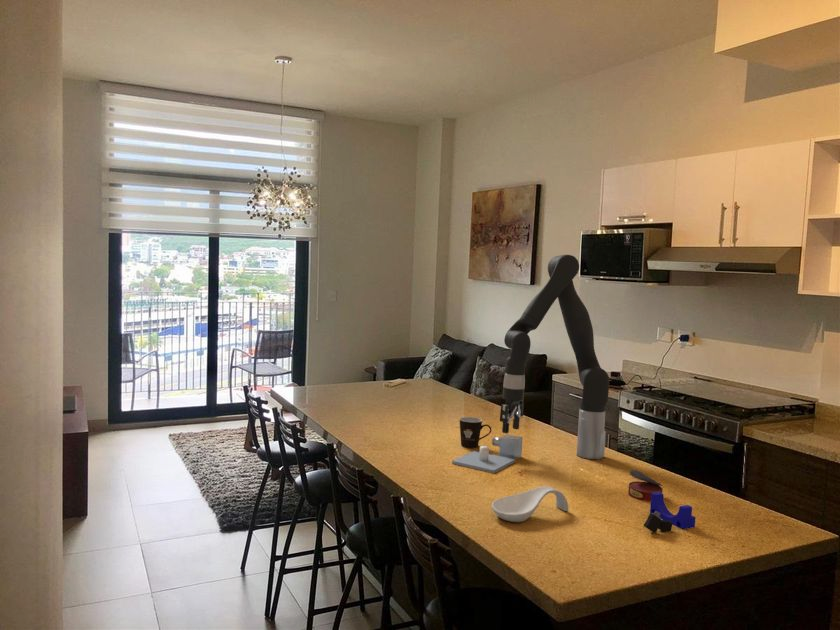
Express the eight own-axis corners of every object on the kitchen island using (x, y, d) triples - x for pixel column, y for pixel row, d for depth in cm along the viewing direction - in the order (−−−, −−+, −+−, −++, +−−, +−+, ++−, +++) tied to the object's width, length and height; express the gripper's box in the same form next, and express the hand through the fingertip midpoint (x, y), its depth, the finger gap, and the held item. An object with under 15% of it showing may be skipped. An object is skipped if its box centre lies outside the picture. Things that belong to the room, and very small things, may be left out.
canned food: (627, 506, 208) (621, 474, 212) (659, 505, 207) (653, 472, 211) (635, 501, 197) (629, 467, 201) (670, 499, 197) (663, 465, 201)
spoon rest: (508, 530, 174) (510, 503, 173) (482, 514, 184) (483, 489, 183) (576, 516, 185) (578, 491, 185) (548, 502, 196) (550, 478, 195)
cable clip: (694, 527, 181) (696, 506, 180) (682, 529, 179) (683, 508, 178) (662, 512, 192) (663, 491, 191) (649, 513, 190) (651, 493, 189)
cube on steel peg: (521, 456, 241) (522, 437, 240) (514, 460, 236) (515, 440, 235) (497, 451, 246) (498, 432, 246) (489, 455, 241) (490, 435, 240)
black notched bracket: (660, 537, 178) (669, 520, 179) (665, 540, 177) (675, 523, 177) (641, 524, 176) (651, 507, 176) (646, 527, 174) (656, 510, 174)
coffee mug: (453, 445, 252) (454, 419, 252) (467, 441, 259) (469, 415, 258) (477, 451, 244) (479, 425, 244) (491, 447, 251) (493, 421, 250)
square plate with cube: (514, 462, 234) (515, 446, 233) (493, 473, 220) (494, 456, 220) (474, 453, 242) (475, 438, 242) (452, 463, 229) (452, 447, 228)
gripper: (514, 390, 230) (511, 436, 231) (531, 385, 242) (528, 429, 243) (495, 387, 234) (492, 432, 236) (513, 382, 246) (509, 425, 247)
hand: (510, 430), depth 239 cm, fingers open, 8 cm apart
